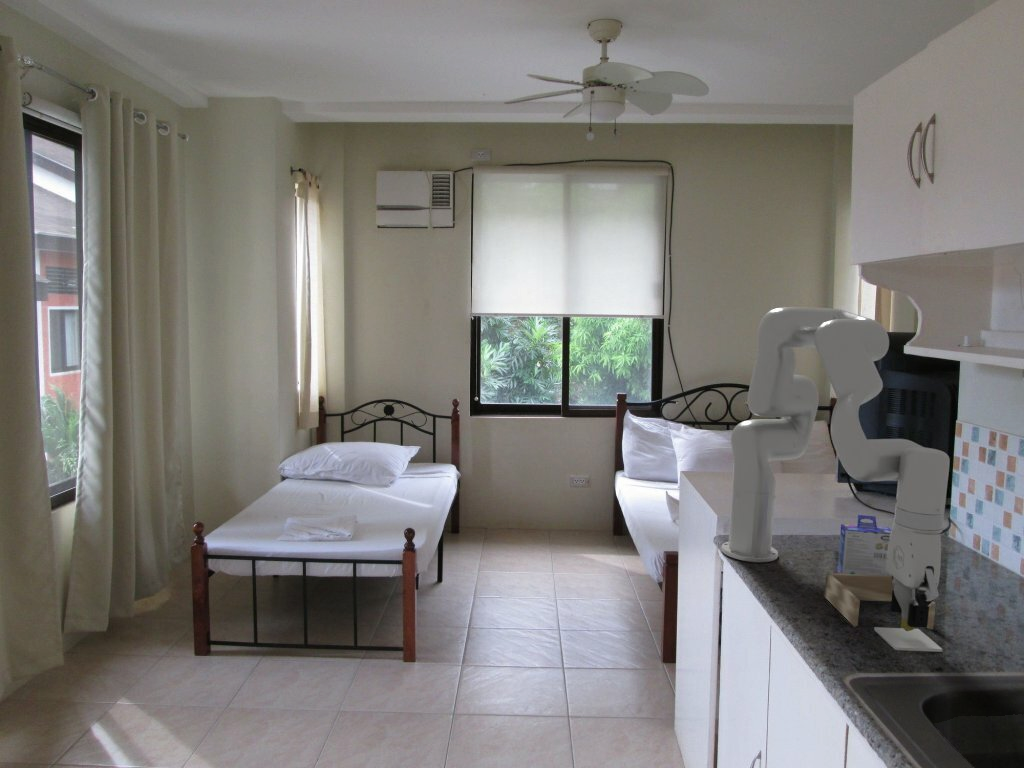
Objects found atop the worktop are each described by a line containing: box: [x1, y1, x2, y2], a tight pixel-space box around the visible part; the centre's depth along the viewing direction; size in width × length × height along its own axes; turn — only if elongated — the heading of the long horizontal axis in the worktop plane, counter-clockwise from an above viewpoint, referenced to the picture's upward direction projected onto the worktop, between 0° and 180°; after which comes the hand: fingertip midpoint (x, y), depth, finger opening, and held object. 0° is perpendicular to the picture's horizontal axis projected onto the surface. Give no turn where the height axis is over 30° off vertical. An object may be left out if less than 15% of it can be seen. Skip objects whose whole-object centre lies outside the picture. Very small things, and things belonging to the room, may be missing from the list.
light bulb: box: [894, 580, 925, 631], centre depth 136 cm, size 6×6×10 cm
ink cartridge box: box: [837, 514, 892, 576], centre depth 163 cm, size 10×6×14 cm, turn 79°
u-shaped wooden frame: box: [824, 572, 936, 630], centre depth 149 cm, size 14×15×5 cm
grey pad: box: [873, 626, 943, 653], centre depth 137 cm, size 8×8×1 cm
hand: (908, 618), depth 137 cm, fingers open, 5 cm apart
